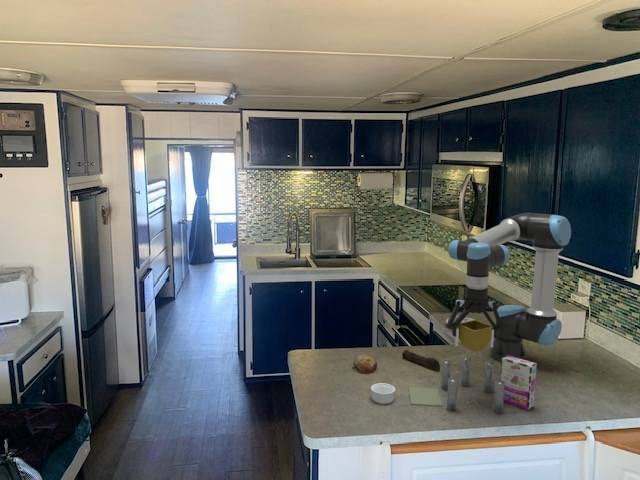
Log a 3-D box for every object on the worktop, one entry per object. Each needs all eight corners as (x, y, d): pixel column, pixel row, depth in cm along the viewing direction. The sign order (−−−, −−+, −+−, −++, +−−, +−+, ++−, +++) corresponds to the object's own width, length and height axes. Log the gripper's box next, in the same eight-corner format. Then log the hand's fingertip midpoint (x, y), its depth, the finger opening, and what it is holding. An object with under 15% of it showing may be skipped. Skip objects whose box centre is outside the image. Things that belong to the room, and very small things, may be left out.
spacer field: (488, 384, 200) (490, 357, 198) (503, 414, 177) (505, 384, 175) (439, 381, 201) (440, 355, 200) (447, 411, 179) (448, 381, 177)
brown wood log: (401, 359, 224) (401, 349, 223) (407, 357, 227) (407, 347, 226) (435, 374, 209) (435, 363, 209) (441, 371, 212) (442, 360, 211)
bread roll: (351, 375, 215) (345, 361, 212) (364, 359, 221) (360, 345, 218) (369, 382, 209) (364, 368, 205) (383, 365, 215) (378, 351, 211)
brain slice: (436, 325, 269) (437, 319, 268) (459, 319, 278) (459, 314, 278) (465, 336, 253) (466, 330, 252) (488, 330, 262) (488, 324, 261)
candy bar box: (534, 406, 182) (537, 362, 180) (528, 411, 179) (531, 367, 176) (504, 395, 190) (507, 354, 187) (498, 400, 187) (501, 357, 184)
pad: (437, 389, 195) (437, 388, 195) (442, 406, 182) (442, 405, 182) (408, 388, 196) (408, 387, 196) (411, 404, 183) (411, 403, 183)
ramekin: (369, 393, 192) (370, 382, 191) (393, 393, 192) (393, 383, 191) (371, 404, 183) (371, 393, 182) (396, 405, 183) (396, 394, 182)
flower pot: (473, 355, 178) (474, 330, 177) (455, 346, 186) (456, 323, 184) (491, 350, 182) (493, 326, 181) (473, 342, 190) (475, 319, 188)
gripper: (443, 288, 177) (441, 348, 181) (514, 290, 175) (510, 350, 179) (441, 283, 185) (438, 340, 189) (508, 285, 182) (505, 342, 186)
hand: (473, 345), depth 184 cm, fingers closed on flower pot, 11 cm apart
